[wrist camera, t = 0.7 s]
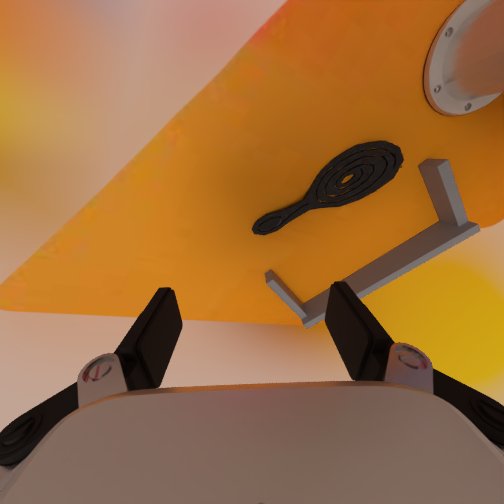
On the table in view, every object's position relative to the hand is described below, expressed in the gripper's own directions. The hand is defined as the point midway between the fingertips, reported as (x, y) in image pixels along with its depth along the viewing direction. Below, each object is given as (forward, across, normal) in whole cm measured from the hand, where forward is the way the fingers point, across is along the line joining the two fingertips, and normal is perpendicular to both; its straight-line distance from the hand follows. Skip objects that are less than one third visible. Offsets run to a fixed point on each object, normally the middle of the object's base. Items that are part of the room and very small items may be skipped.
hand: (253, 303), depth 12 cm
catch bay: (+24, -19, +8) cm, 32 cm away
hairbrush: (+25, -11, -2) cm, 28 cm away
